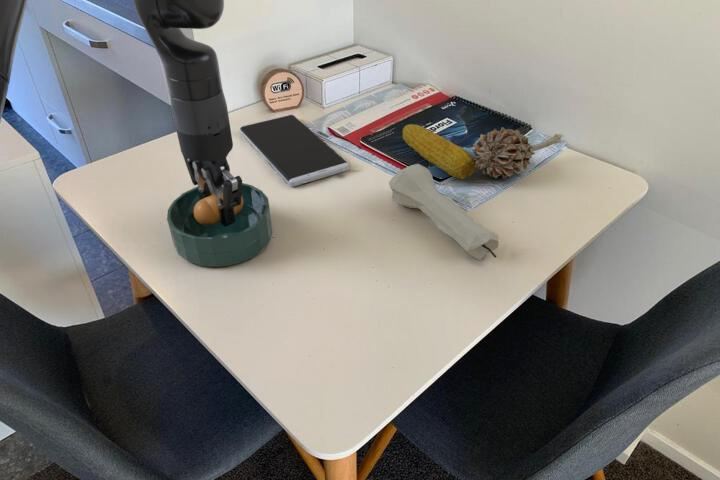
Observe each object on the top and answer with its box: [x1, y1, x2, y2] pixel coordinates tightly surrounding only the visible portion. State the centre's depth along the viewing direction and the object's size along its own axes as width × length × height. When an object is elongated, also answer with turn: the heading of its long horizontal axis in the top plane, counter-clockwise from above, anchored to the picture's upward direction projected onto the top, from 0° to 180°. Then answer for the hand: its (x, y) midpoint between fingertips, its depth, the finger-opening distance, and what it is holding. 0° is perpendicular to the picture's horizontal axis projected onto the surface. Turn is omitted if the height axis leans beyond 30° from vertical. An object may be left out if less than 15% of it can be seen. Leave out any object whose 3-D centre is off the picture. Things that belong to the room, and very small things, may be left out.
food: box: [402, 123, 476, 180], centre depth 107 cm, size 21×6×6 cm, turn 33°
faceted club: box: [388, 163, 500, 261], centre depth 88 cm, size 9×8×25 cm
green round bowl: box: [166, 182, 273, 268], centre depth 86 cm, size 16×16×6 cm
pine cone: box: [469, 126, 563, 179], centre depth 103 cm, size 22×10×10 cm, turn 121°
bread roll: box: [194, 193, 243, 226], centre depth 84 cm, size 8×4×4 cm, turn 133°
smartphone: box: [239, 113, 350, 187], centre depth 111 cm, size 13×27×2 cm, turn 31°
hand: (220, 216), depth 85 cm, fingers closed on bread roll, 4 cm apart
